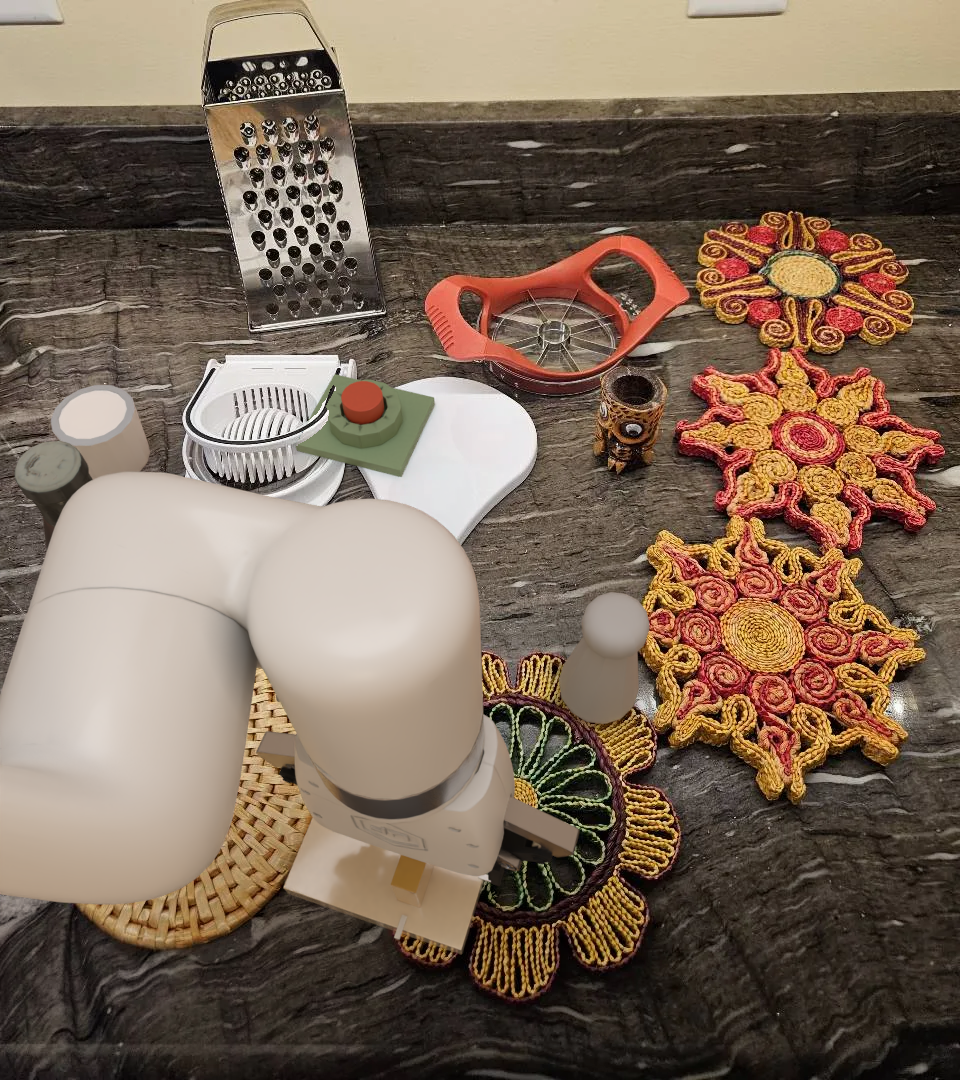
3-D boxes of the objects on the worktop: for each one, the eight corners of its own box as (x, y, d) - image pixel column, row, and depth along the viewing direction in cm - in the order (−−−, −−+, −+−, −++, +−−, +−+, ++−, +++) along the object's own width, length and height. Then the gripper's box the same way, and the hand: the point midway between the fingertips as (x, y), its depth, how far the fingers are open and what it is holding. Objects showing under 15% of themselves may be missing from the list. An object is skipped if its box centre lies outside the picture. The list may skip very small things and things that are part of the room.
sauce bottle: (91, 615, 69) (-33, 459, 53) (157, 568, 72) (59, 405, 55) (136, 667, 67) (21, 521, 50) (202, 617, 69) (114, 461, 52)
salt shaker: (553, 728, 64) (567, 650, 53) (559, 659, 67) (574, 571, 56) (632, 738, 63) (662, 662, 52) (635, 668, 66) (664, 582, 56)
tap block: (287, 906, 57) (278, 896, 54) (346, 763, 62) (340, 748, 60) (475, 973, 55) (475, 966, 52) (520, 818, 60) (521, 805, 57)
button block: (299, 459, 78) (290, 430, 75) (337, 389, 83) (331, 359, 79) (402, 485, 76) (398, 457, 73) (435, 413, 81) (433, 383, 78)
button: (337, 419, 76) (334, 405, 74) (353, 390, 78) (350, 377, 76) (375, 428, 75) (373, 415, 74) (390, 399, 77) (388, 386, 76)
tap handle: (420, 908, 54) (415, 892, 50) (396, 900, 54) (389, 883, 50) (451, 816, 57) (448, 794, 53) (428, 809, 57) (424, 786, 53)
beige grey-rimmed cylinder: (85, 442, 79) (53, 389, 73) (161, 432, 80) (136, 378, 74) (79, 501, 75) (46, 450, 70) (159, 490, 76) (132, 438, 70)
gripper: (172, 747, 36) (264, 850, 50) (571, 876, 33) (548, 947, 47) (251, 599, 40) (315, 733, 54) (614, 702, 37) (581, 815, 51)
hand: (424, 832), depth 51 cm, fingers open, 9 cm apart
